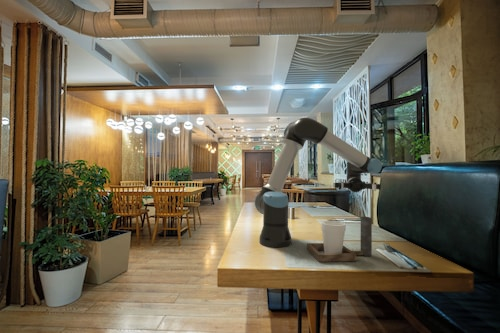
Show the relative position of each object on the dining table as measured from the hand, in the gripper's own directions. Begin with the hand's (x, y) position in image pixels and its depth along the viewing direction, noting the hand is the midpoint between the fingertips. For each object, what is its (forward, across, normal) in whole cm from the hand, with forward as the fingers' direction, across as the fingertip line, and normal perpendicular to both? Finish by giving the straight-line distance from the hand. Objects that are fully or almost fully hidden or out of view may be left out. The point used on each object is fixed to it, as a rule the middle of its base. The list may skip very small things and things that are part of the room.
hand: (358, 186), depth 111 cm
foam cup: (+16, +10, -27) cm, 33 cm away
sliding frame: (+15, +7, -27) cm, 32 cm away
